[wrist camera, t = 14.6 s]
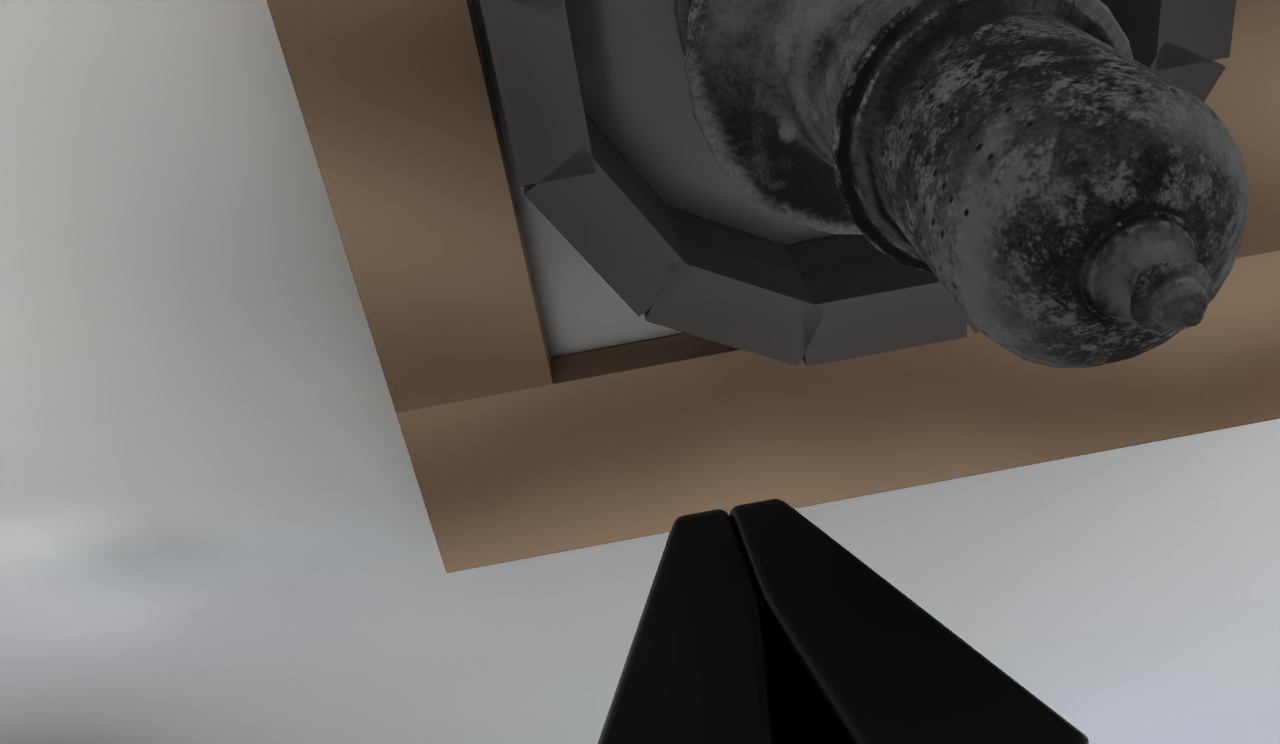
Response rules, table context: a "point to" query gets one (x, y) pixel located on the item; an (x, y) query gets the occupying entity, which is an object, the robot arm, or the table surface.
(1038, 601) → the table surface
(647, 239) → the socket board
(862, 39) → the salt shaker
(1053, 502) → the table surface
